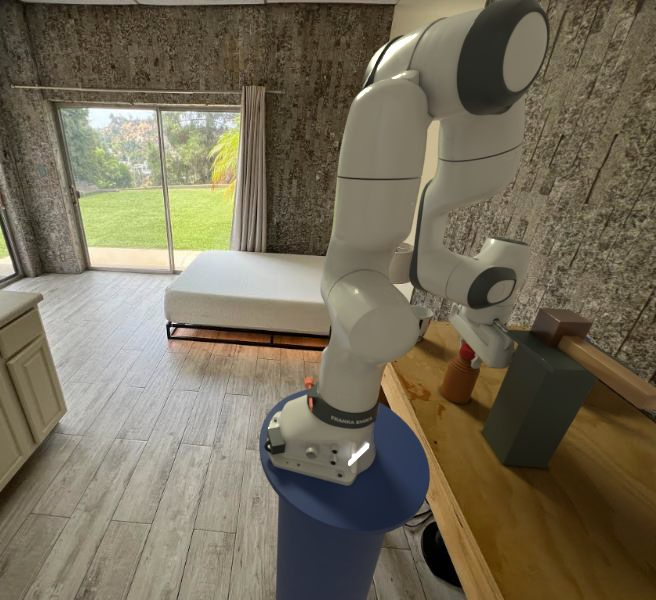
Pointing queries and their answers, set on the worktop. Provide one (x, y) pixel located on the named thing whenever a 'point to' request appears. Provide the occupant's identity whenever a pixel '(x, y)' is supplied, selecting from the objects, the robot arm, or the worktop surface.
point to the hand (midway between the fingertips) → (468, 359)
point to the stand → (537, 401)
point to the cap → (466, 352)
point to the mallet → (591, 354)
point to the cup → (422, 319)
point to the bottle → (459, 380)
